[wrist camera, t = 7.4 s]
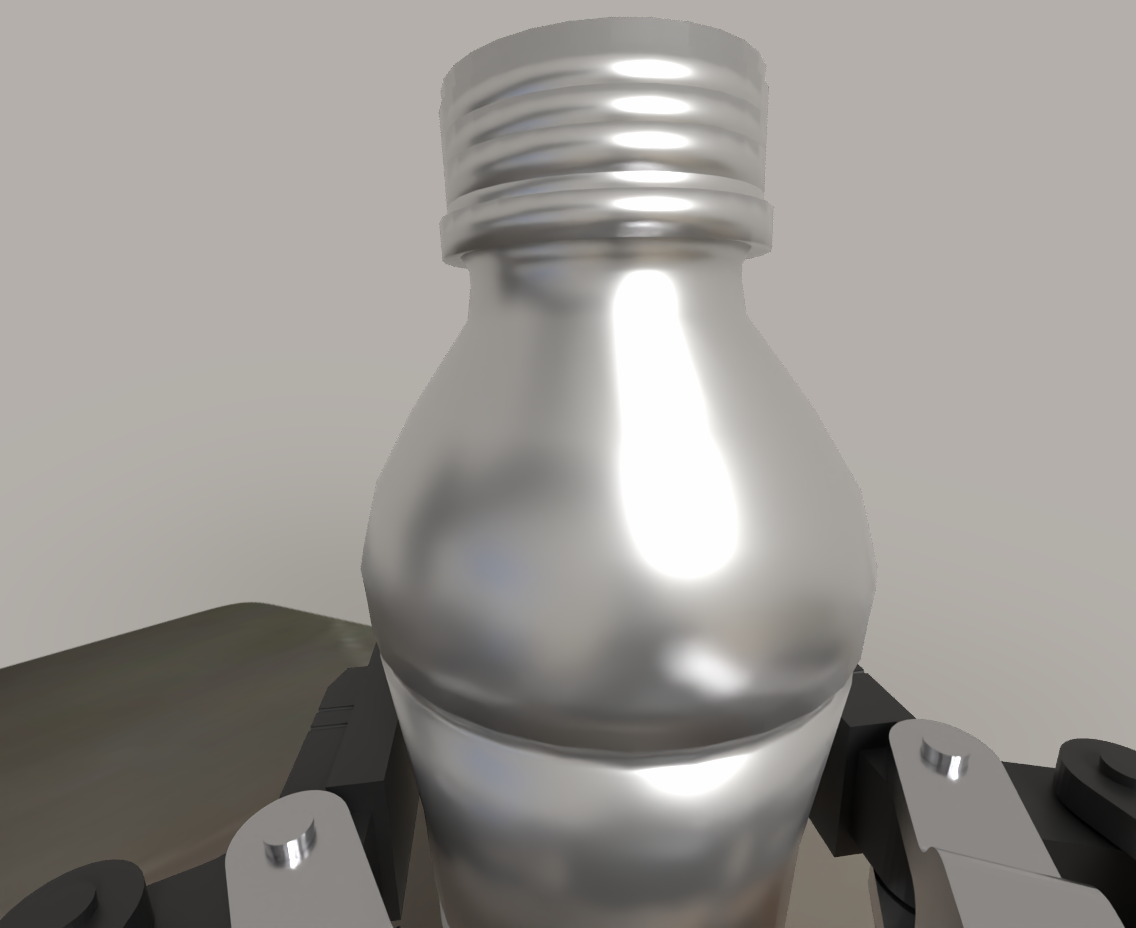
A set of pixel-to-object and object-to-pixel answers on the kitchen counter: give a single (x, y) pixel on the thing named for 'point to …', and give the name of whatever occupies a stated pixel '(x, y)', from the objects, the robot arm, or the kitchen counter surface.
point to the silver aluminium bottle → (614, 504)
